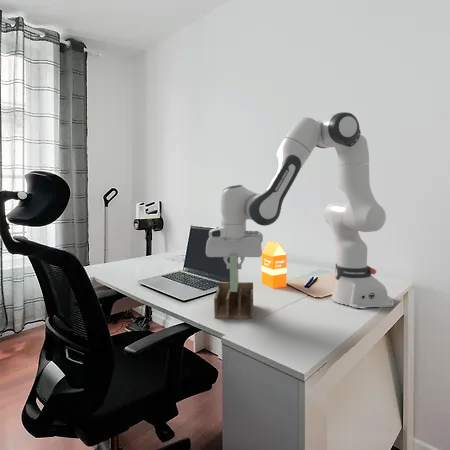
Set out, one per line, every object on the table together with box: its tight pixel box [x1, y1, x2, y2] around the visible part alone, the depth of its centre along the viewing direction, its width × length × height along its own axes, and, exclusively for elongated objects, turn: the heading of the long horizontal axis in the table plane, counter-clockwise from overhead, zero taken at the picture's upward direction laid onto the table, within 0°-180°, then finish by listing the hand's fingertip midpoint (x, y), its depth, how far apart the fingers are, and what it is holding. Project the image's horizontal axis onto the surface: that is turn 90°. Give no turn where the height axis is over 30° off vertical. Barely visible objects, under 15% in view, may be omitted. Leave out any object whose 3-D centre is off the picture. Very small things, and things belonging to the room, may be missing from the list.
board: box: [229, 254, 239, 292], centre depth 119 cm, size 2×9×13 cm, turn 175°
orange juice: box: [261, 240, 288, 289], centre depth 151 cm, size 8×9×20 cm
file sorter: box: [213, 281, 254, 320], centre depth 121 cm, size 13×13×9 cm
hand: (234, 268), depth 119 cm, fingers closed on board, 2 cm apart
